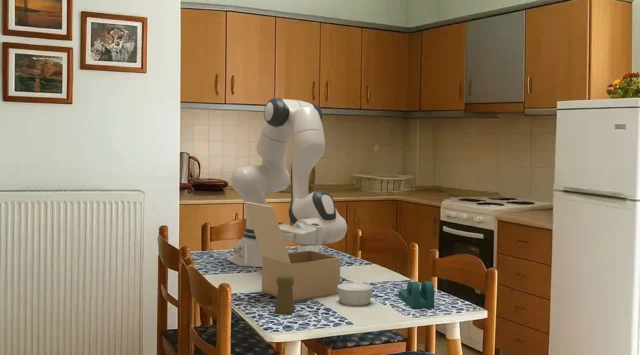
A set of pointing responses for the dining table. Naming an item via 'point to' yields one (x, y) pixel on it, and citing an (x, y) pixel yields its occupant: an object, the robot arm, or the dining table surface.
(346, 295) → the ramekin
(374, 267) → the dining table surface
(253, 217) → the carton flap
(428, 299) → the bracket
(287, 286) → the olive pepper mill
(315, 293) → the kraft carton
